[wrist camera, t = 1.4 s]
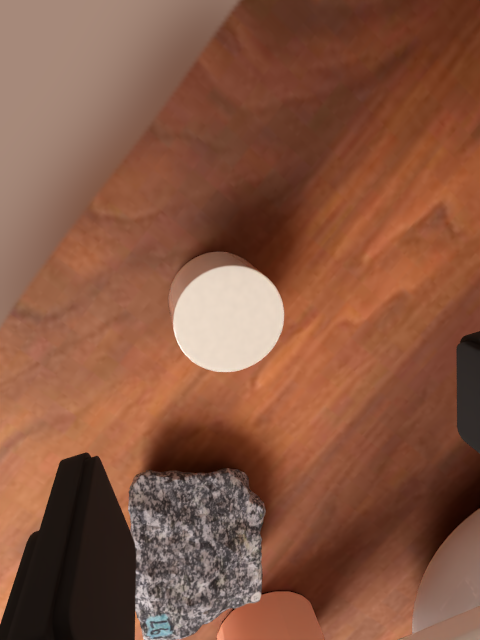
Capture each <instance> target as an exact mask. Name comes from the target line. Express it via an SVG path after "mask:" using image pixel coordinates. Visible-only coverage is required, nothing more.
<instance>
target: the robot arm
mask: <svg viewBox="0 0 480 640" xmlns="http://www.w3.org/2000/svg"><path fill="white" fill-rule="evenodd" d="M457 428H458V432H459V434H460V436H461V438H462V439H463V440H464V441H465V442H466V443H467V444H469V445H470V446H471V447H472V448H474V449H475V450H476V451H477V452H479V453H480V331H479V332H476V333H473V334H469V335H466V336H464V337H463V338H462V339H461V341H460V344H458V346H457ZM135 592H136V549H135V543H134V540H133V537H132V535H131V532H130V530H129V527H128V525H127V523H126V520H125V518H124V515H123V513H122V511H121V508H120V506H119V503H118V501H117V498H116V496H115V494H114V491H113V489H112V486H111V484H110V482H109V479H108V477H107V474H106V472H105V469H104V467H103V465H102V462H101V460H100V458H99V457H98V456H95V457H92V458H91V456H90V455H89V454H88V453H83V454H80V455H77V456H73V457H70V458H67V459H64V460H62V461H61V462H60V464H59V467H58V470H57V473H56V477H55V480H54V484H53V487H52V490H51V494H50V497H49V500H48V504H47V507H46V510H45V514H44V517H43V520H42V524H41V527H40V530H39V531H36V532H34V533H33V534H32V535H31V536H30V537H29V539H28V541H27V544H26V547H25V550H24V553H23V556H22V559H21V562H20V565H19V569H18V572H17V575H16V578H15V581H14V584H13V587H12V590H11V593H10V596H9V599H8V602H7V606H6V609H5V612H4V615H3V618H2V621H1V624H0V640H135ZM399 640H480V606H478V607H475V608H473V609H470V610H468V611H466V612H463V613H461V614H458V615H456V616H454V617H451V618H449V619H446V620H444V621H442V622H439V623H437V624H434V625H432V626H430V627H427V628H425V629H423V630H420V631H418V632H415V633H413V634H411V635H408V636H406V637H403V638H401V639H399Z"/></svg>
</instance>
